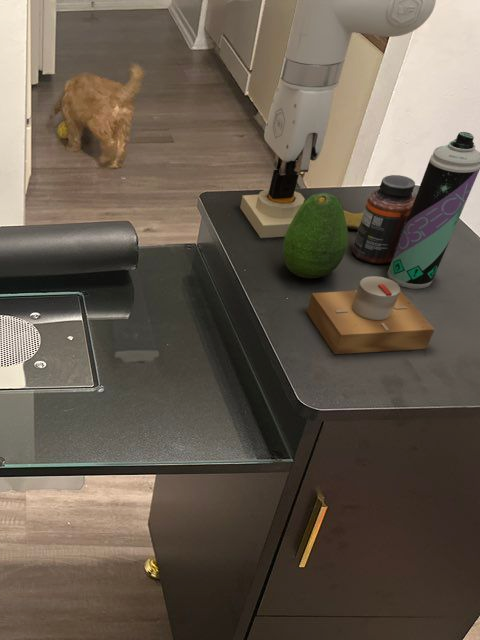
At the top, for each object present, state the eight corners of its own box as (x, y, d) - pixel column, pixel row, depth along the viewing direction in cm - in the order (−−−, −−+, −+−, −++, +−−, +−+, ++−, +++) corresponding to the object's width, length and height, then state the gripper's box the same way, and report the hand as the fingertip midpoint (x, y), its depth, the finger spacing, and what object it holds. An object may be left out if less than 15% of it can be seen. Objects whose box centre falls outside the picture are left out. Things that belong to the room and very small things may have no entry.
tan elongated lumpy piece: (409, 239, 109) (416, 234, 106) (313, 232, 113) (317, 228, 110) (412, 216, 109) (419, 212, 106) (316, 211, 113) (320, 206, 110)
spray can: (379, 269, 101) (430, 127, 88) (417, 265, 101) (474, 123, 88) (400, 290, 97) (457, 145, 84) (440, 286, 97) (503, 141, 84)
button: (286, 200, 113) (289, 190, 112) (294, 211, 110) (297, 200, 109) (263, 202, 113) (265, 191, 112) (271, 212, 110) (273, 202, 109)
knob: (345, 301, 91) (354, 275, 88) (380, 298, 91) (390, 272, 88) (361, 321, 87) (371, 295, 85) (398, 318, 87) (408, 292, 85)
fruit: (345, 291, 97) (372, 209, 90) (284, 291, 98) (306, 211, 90) (327, 260, 104) (351, 181, 96) (270, 261, 104) (289, 182, 96)
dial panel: (391, 307, 94) (399, 286, 92) (426, 349, 87) (435, 328, 85) (306, 312, 94) (312, 291, 92) (334, 354, 88) (341, 333, 85)
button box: (289, 204, 117) (295, 181, 114) (313, 235, 109) (320, 210, 107) (239, 207, 117) (244, 184, 114) (260, 238, 109) (265, 214, 107)
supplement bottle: (394, 247, 105) (422, 173, 98) (398, 268, 101) (427, 192, 94) (350, 242, 107) (373, 169, 100) (351, 262, 103) (376, 188, 95)
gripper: (265, 56, 104) (240, 176, 116) (304, 91, 93) (272, 220, 105) (317, 53, 104) (287, 173, 116) (363, 87, 93) (324, 217, 105)
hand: (280, 195), depth 110 cm, fingers closed
